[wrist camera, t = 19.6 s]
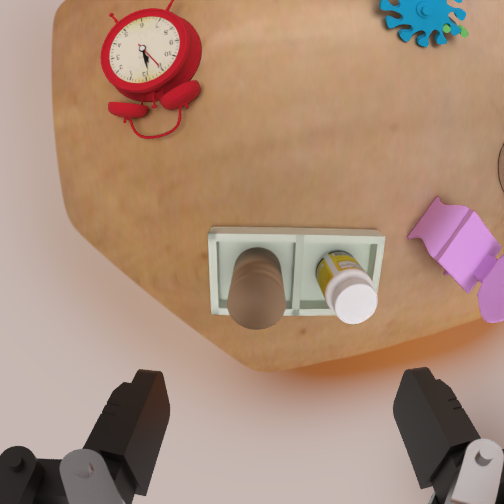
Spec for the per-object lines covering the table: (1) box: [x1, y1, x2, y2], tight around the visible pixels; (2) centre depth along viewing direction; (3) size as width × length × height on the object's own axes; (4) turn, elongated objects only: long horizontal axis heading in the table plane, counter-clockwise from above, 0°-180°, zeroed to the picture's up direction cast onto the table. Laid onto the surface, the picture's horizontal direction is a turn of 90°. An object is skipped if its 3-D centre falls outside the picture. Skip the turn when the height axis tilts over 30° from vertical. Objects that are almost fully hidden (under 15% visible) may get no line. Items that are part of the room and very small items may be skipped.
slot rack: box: [208, 227, 385, 316], centre depth 34 cm, size 18×9×3 cm, turn 90°
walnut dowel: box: [227, 247, 286, 330], centre depth 31 cm, size 5×5×8 cm
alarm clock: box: [101, 0, 201, 139], centre depth 27 cm, size 10×6×15 cm
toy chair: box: [407, 196, 504, 323], centre depth 27 cm, size 8×9×15 cm
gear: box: [379, 0, 468, 47], centre depth 23 cm, size 11×6×10 cm
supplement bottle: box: [315, 250, 378, 324], centre depth 31 cm, size 5×5×8 cm
